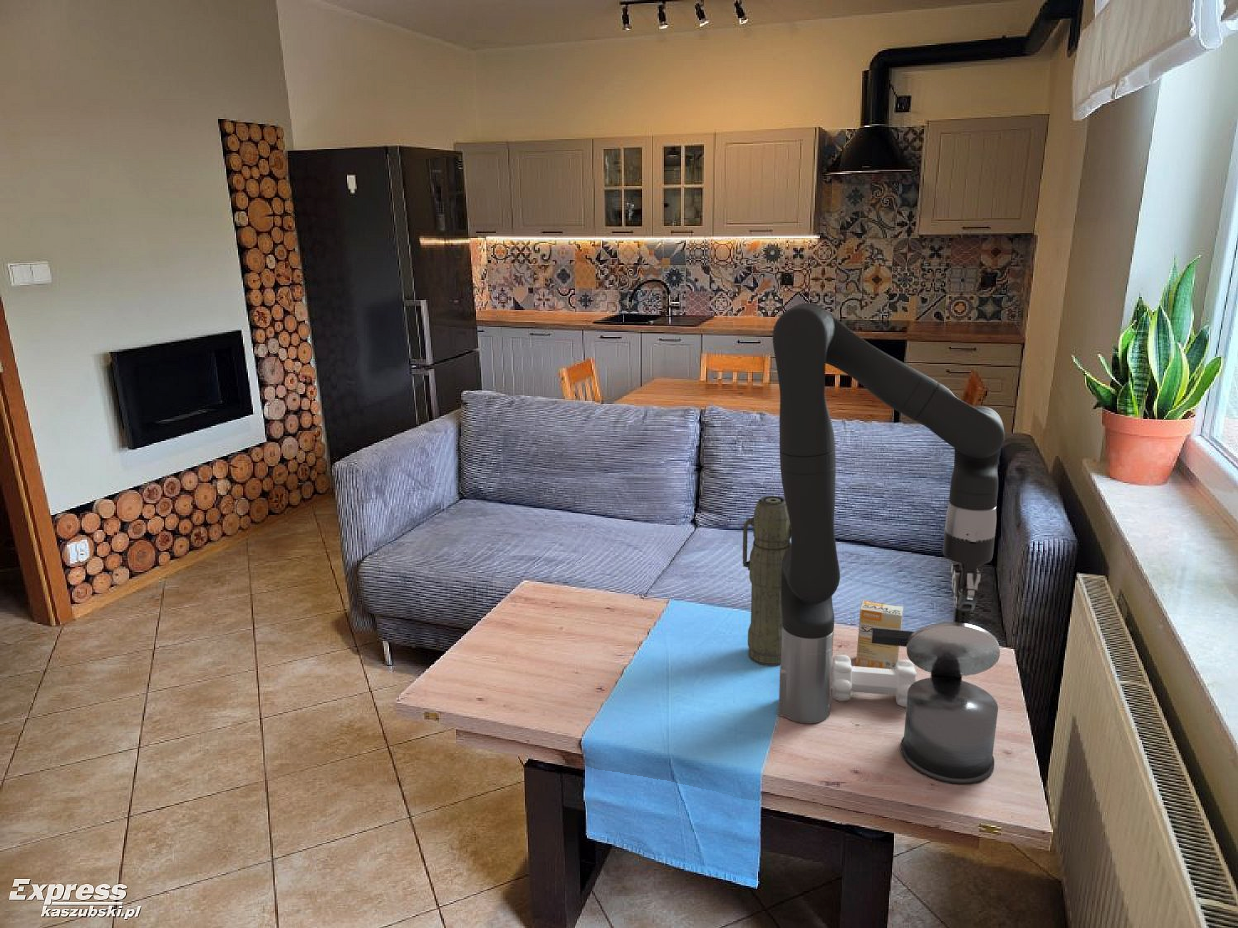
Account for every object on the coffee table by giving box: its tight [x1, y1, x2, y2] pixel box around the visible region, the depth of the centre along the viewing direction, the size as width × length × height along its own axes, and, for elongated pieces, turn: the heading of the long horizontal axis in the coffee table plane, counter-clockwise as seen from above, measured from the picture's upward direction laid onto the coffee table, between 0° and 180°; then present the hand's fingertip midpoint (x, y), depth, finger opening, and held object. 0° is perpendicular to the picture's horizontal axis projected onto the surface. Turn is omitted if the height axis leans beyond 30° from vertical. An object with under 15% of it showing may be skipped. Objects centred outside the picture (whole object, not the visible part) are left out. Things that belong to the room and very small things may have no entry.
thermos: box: [742, 495, 791, 668], centre depth 167 cm, size 9×12×35 cm
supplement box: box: [855, 600, 904, 669], centre depth 166 cm, size 8×5×13 cm, turn 68°
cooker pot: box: [900, 674, 999, 786], centre depth 137 cm, size 15×16×11 cm
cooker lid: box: [872, 621, 1001, 679], centre depth 139 cm, size 20×15×3 cm
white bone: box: [831, 654, 918, 708], centre depth 155 cm, size 15×9×8 cm, turn 78°
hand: (960, 626), depth 137 cm, fingers closed
